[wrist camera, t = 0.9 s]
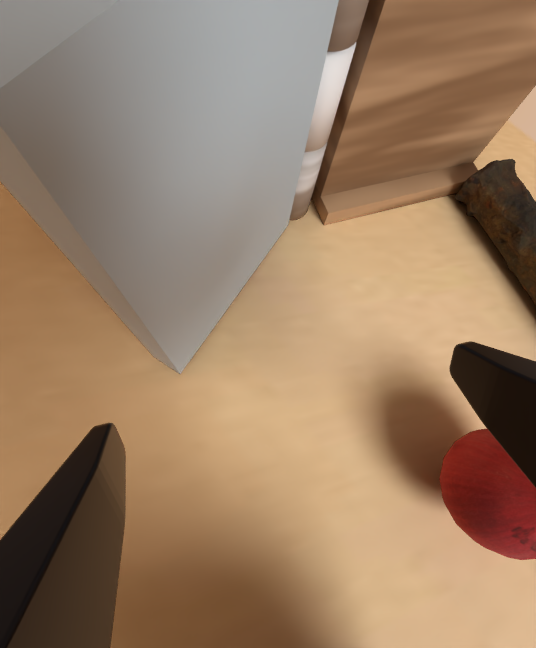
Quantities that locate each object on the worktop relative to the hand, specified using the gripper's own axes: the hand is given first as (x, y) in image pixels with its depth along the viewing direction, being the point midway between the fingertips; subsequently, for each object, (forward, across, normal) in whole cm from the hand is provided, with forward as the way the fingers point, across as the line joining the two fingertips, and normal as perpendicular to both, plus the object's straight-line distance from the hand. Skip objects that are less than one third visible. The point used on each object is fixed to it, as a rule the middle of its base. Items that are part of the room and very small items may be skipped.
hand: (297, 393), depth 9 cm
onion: (+4, -11, +14) cm, 18 cm away
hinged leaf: (+16, -1, +3) cm, 17 cm away
